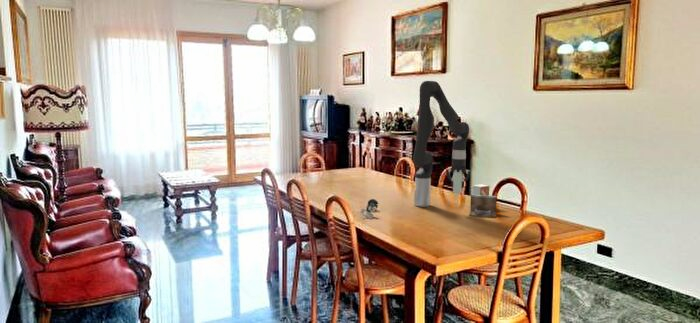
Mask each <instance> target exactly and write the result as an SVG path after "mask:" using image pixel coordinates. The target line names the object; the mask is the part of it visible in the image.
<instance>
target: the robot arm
mask: <svg viewBox="0 0 700 323" xmlns="http://www.w3.org/2000/svg"><path fill="white" fill-rule="evenodd" d="M432 97H433V99H434V100H435V101H436V102H437V104H438V107H439V110H440V113H441V115H442V117H443V118H444V120H445V121H446V122H447V125H448V127H449V130H450V132H451V133H452V134H453V135H456V136H457V137H456V138H455V139H454V140H453V142H452V154H451V167H450V168H446V170H445V171H446V176H447V179H448V180H449V181H450V183H451V184H450V187H452V188H453V178H454V172H462V189H464V187H465V182H467V181H468V180H469V177H470V175H471V171H472V170H469V169H467V168H466V159H467V153H466V152H467V151H466V150H467V149H466V147H467V140H468V136H469V134H470V126H469V124H468V123H467V122H464V121H463V122H462V121H461V122H460V121H458V120H459V115H458V113H457V112H456V110H455V109H454V108H453V107H452V104H450V102H449V100H448V99H447V97H446V94H445V93H444V91H443V89H442V87H441V85H440V83H439V82H437V81H435V80H424V81H422V82H421V83H420V86H419V110H418V119H417V128H416V129H417V130H416V139H415V146H414V150H413V157H412V162H413V164H414V166H415V167H417V168H418V170H417V171H415V175H414V176H415V178H414V179H415V181H414V183H415V185H414V190H413V191H414V192H413V193H414V194H413V196H414V198H413V199H414V200H413V201H414V203H413V206H416V207H423V208H424V207H430V206H431V181H432V180H431V175H432V173H433V161H434V157H433V155H432V153H431V152H430V151H428V150H427V144H428V142H429V140H430V138H431V136H432V134H433V130H434V121H435V120H434V115H433V112H432V109H431V98H432ZM451 172H452V174H453V175H452V177H451ZM465 173H466V177H465V176H464V174H465Z"/></svg>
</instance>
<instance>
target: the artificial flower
mask: <svg viewBox="0 0 700 323" xmlns="http://www.w3.org/2000/svg"><path fill="white" fill-rule="evenodd" d="M378 207H379V202H378V201H377V200H376V199H375V198H374V199H373V198H371V199H369V200H368V201H367V203H366V206H365V208H361V209H360V214H361V215H362V216H363V217H366V218H368V219H369V220H370V219H373V218H374V214H373V212H375V211H376V210H378Z"/></svg>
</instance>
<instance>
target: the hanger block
mask: <svg viewBox="0 0 700 323" xmlns="http://www.w3.org/2000/svg"><path fill="white" fill-rule="evenodd" d="M462 191H463V188H462V172H454V178H453V187H452V194H458V195H459V194H460V195H461V194H462V193H463V192H462Z"/></svg>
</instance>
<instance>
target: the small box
mask: <svg viewBox="0 0 700 323" xmlns="http://www.w3.org/2000/svg"><path fill="white" fill-rule="evenodd" d="M471 195H484V196H490V185H487V184H482V183H481V184H474V185H472V193H471Z"/></svg>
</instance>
